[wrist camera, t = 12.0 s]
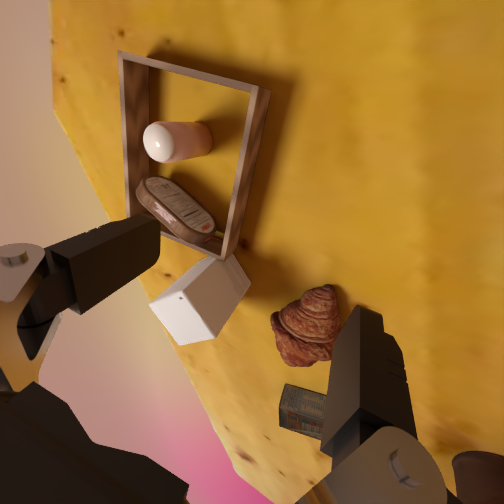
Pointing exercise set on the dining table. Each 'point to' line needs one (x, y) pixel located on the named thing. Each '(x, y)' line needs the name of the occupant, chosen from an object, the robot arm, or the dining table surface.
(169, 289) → the supplement box
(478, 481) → the pitcher
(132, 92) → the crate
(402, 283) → the dining table surface
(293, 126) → the dining table surface
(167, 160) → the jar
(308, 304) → the pastry
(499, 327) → the dining table surface
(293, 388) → the beverage carton
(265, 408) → the dining table surface
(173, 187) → the tin
